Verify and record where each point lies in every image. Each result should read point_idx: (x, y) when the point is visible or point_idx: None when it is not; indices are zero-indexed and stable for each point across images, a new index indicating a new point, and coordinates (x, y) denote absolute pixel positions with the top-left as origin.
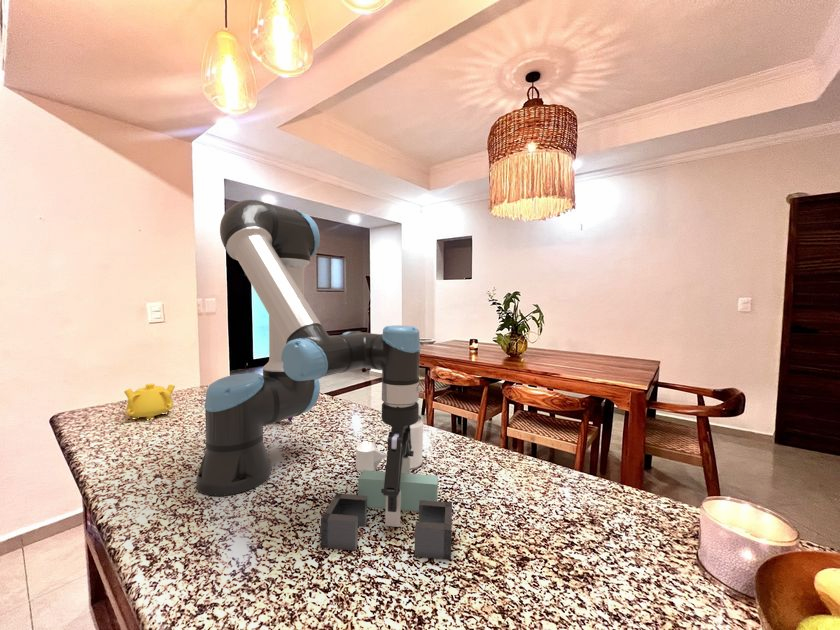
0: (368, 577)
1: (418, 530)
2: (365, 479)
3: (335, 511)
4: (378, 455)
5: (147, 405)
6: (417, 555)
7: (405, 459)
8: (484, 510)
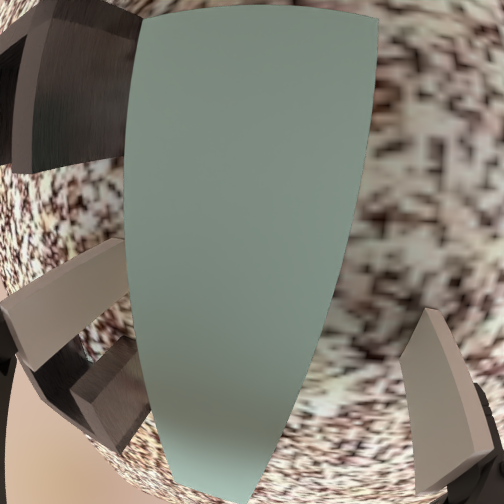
0: (10, 205)
1: None
2: (130, 100)
3: (20, 54)
4: None
5: None
6: None
7: (434, 478)
8: None
